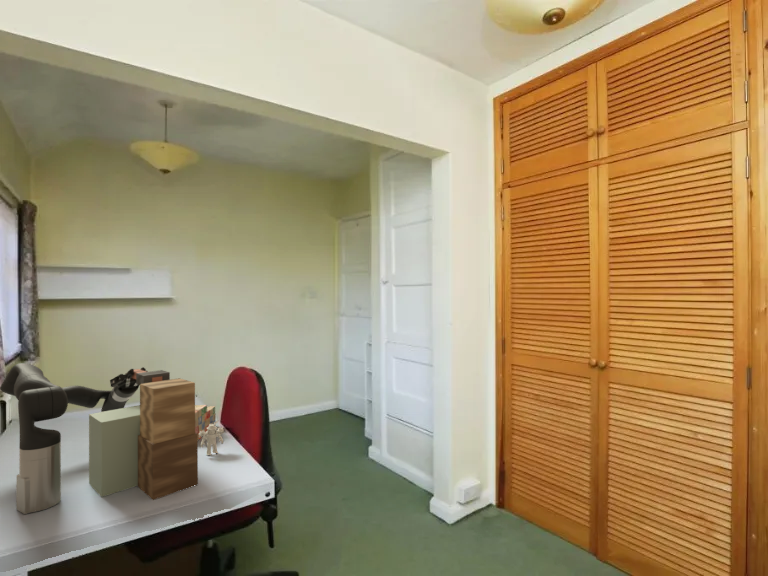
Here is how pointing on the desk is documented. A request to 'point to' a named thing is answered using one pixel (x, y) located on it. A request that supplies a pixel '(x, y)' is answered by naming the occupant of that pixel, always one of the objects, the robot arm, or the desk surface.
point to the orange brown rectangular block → (150, 376)
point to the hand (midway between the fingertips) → (138, 370)
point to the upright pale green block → (114, 450)
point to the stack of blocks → (204, 418)
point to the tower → (167, 438)
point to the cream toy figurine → (211, 437)
